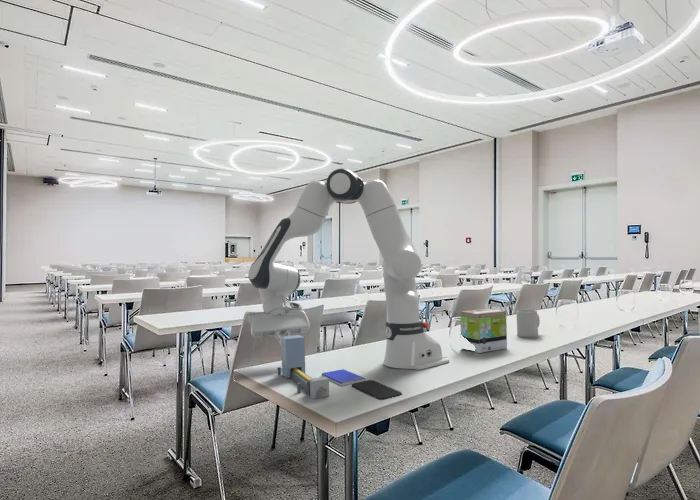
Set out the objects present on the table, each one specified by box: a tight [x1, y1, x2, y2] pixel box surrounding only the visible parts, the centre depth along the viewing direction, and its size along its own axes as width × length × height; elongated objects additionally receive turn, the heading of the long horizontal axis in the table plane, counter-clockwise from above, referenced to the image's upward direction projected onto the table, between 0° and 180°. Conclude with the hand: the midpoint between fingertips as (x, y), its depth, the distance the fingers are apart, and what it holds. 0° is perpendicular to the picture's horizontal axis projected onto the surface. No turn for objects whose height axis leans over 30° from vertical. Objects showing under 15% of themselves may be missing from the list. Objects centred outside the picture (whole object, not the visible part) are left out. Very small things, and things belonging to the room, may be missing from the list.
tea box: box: [459, 308, 508, 354], centre depth 159 cm, size 15×10×15 cm
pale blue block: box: [280, 334, 306, 379], centre depth 129 cm, size 6×5×12 cm
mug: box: [515, 309, 541, 339], centre depth 183 cm, size 12×8×11 cm
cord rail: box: [277, 366, 330, 399], centre depth 120 cm, size 8×28×4 cm, turn 25°
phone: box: [351, 379, 403, 401], centre depth 112 cm, size 7×1×15 cm
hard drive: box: [321, 368, 367, 387], centre depth 124 cm, size 2×8×12 cm
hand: (285, 343), depth 137 cm, fingers closed
